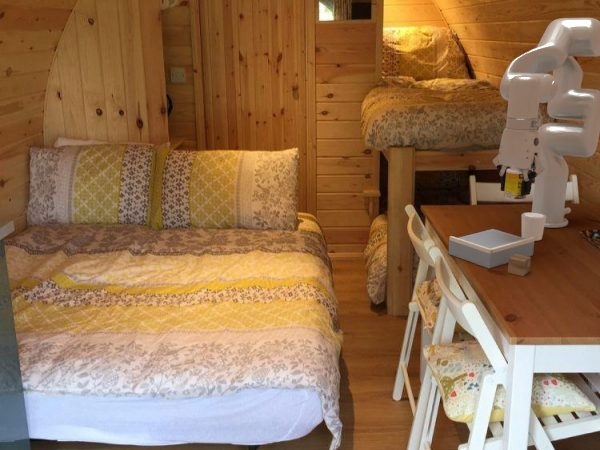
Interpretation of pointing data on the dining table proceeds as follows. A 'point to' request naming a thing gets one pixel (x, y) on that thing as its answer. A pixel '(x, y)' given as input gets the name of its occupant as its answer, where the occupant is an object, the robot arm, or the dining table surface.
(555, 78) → the robot arm
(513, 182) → the supplement bottle
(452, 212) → the dining table surface
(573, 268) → the dining table surface
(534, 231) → the white cup
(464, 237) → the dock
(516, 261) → the light brown cube
